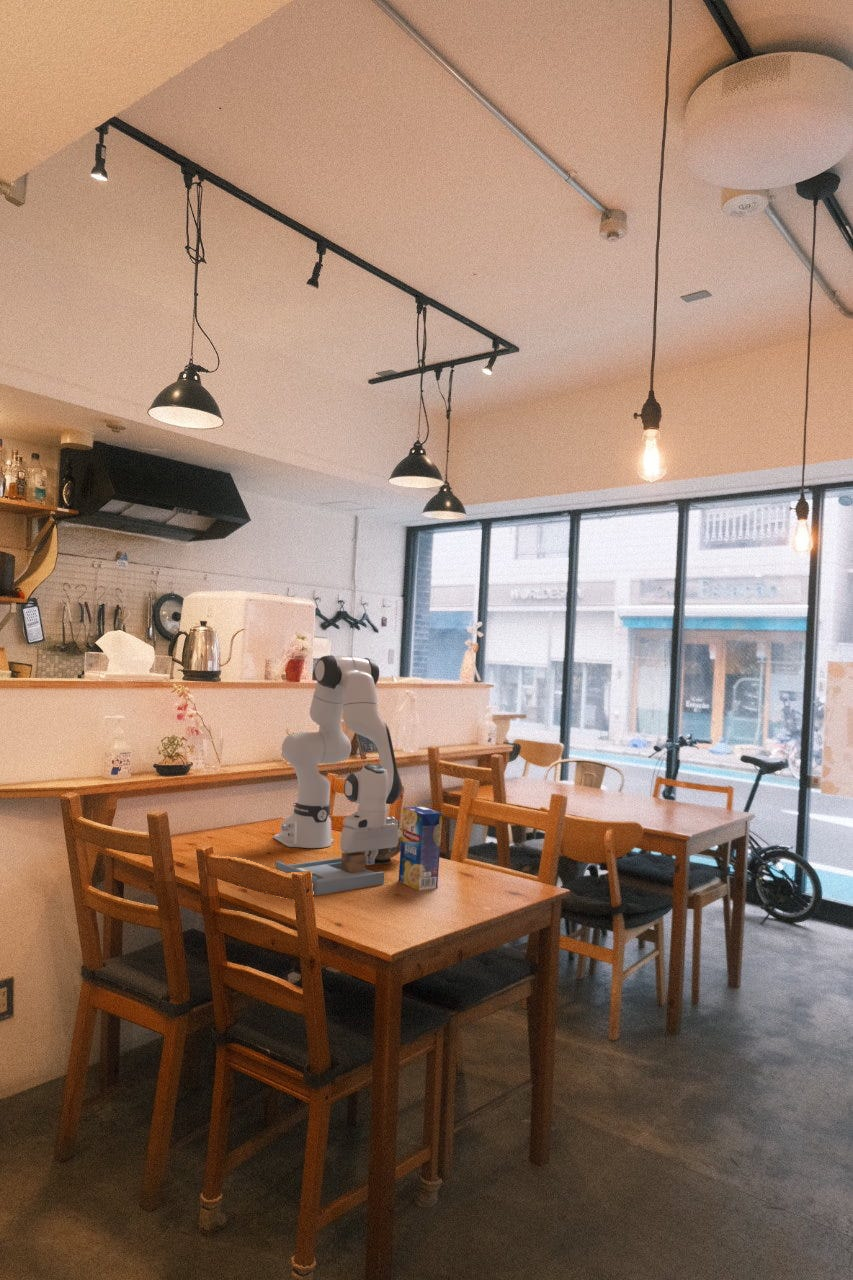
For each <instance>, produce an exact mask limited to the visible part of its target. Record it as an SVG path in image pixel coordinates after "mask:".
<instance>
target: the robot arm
mask: <svg viewBox="0 0 853 1280" xmlns="http://www.w3.org/2000/svg"><path fill="white" fill-rule="evenodd" d="M314 677H315V680H316V681H317V682H316V685H315V687H314V688H315V689H314V690H313V691H314V692H313V696H312V700H311V704H310V708H309V717H310V719H311V720H312V721H313V722H314V723H315V724H317V725H318V726H319V728H318V730H317V731H315V732H314V731H313V732H309V731H307V732H305V731H304V732H296V733H292V734H288V735H287V736H286V737H284V740H283V742H282V744H281V753H282V756H283V758H284V760H285V761H286V762H287V763H288V764H290V766H292V769H293V770H294V772H295V775H296V778H297V802H294V803H293V805H292V806H293V807H294V809H293V813H291V814H290V815H289V816H288V817H287V818H286V819H284V820H283V821H282V823H281V828H280V833H276V834H274V835H273V839H275V840H276V841H278V842H279V843H281V844H283V845H284V846H286V847H290V848H303V849H304V848H305V849H321V848H327V847H330V846H332V843H334V838H332V820H331V817H330V816H329V815H330V814H331V803H330V798H331V797H330V795H331V782H330V780H329V779H328V778H327V777H326V776H325V775H323V774H321V773H320V771H319V765H321V764H322V765H323V764H337V763H340V762H345V761H347V760H348V758H349V757H350V755H351V752H352V744H351V740H350V738H349V737H348V735H347V734H345V733H344V731H343V727H342V717H343V721H344V723H345V726H346V727H347V728H349V730H351V731H352V732H354V733H355V734H357V735H359V736H361V737H364V738H366V739H368V740H369V741H371V742H373V743H374V745H375V747H376V749H377V753H378V759H379V763H380V764H376V763H375V764H374V763H370V764H365V765H363V766H362V768H361V770H359V771H356V772H351V773H350V774H349V775H348V776H347V777H346V778H345V780H344V783H343V785H344V786H343V793H344V796H345V797H346V799H347V800H348V801H350V802H351V803H354V804H356V803H357V804H358V807H357V811H356V812H354V813H352V814H350V815H348V816H346V817H344V818H343V820H342V823H343V825H344V826H343V828H342V830H341V834H340V846H339V848H340V849H341V851H342V853H344V852H346V853H354V852H361V853H362V854H365V866H371V865H375V864H374V860H375V858H376V856H377V854H378V849H384V848H392V847H396V846H397V845H398V819H397V818H396V817H395V816H390V817H388V816H387V814H388V813H387V811H388V809H387V808H388V807H387V805H392V804H394V803H396V802H397V800H398V799H400V796H401V795H402V793H403V784H402V779H401V777H400V774H399V772H398V771H399V770H398V766H397V761H396V756H395V751H394V747H393V740H392V737H391V733H390V728H389V726H388V724H387V723H386V722H384V721H383V720H382V717H381V716H380V714H379V711H378V696H377V688H376V685H377V684H378V682H379V679H380V668H379V665H378V663H377V662H376V661H375V660H374V659H371V658H368V657H359V656H354V655H332V654H329V655H324V656H321V657H320V658H319V659H318V660H317V662H316V663H315V667H314ZM369 850H370V851H371V852H372V853H371V855H370V857H369V858H368V856H367V854H369Z"/></svg>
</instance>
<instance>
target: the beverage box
mask: <svg viewBox="0 0 853 1280" xmlns="http://www.w3.org/2000/svg"><path fill="white" fill-rule="evenodd" d="M442 818H443V812H439V811H438V810H437V811H436V810H433V809H431V808H428V807H425V806H408V807H402V821H401V823H402V825H401V827H402V836H401V851H400V852H399V853H400V854H399V866H398V867H399V869H398V882H400V883H401V884H402V883H403V884H405V885H406V886H408V887H410V888H412V889H414V890H416V891H423V890H425V891H426V890H432V889H433V890H434V889H438V886H439V885H438V883H439V882H438V881H439V867H440V854H441V853H440V851H441V838H442V836H441V835H442V821H443V819H442Z"/></svg>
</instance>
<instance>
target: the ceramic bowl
mask: <svg viewBox="0 0 853 1280" xmlns="http://www.w3.org/2000/svg"><path fill="white" fill-rule="evenodd" d="M401 836H402V826H400V823H398V845H397V846H396V847H392V848H384V849H378V854H377V856H376V858H375V860H374V864H373V865H378V864H379V865H387V864H390V863H391V861H392V860H391V859H392V858H393V857H396V856H397V855H398V854H399V853H400V851H401ZM359 853H361V852H359ZM371 853H372V852H371V851H370V850H369V854H367V856H368V858H369V857H370V855H371Z"/></svg>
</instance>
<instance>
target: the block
mask: <svg viewBox="0 0 853 1280" xmlns="http://www.w3.org/2000/svg"><path fill="white" fill-rule="evenodd" d="M341 858H342V859H341V870H343V871H346V872H348V873H357V872H364V868H365V867H366V865H365V854H362V853H359V852H354V853H346V852H341Z"/></svg>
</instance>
